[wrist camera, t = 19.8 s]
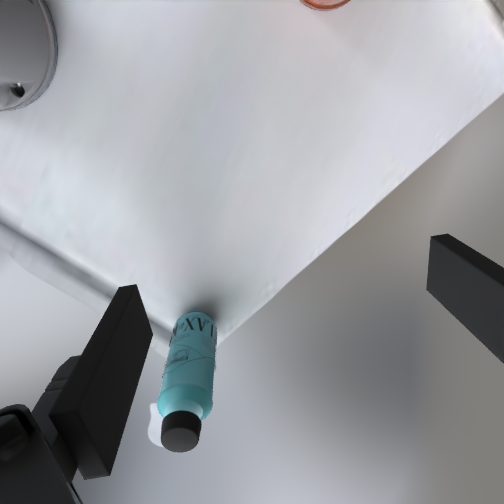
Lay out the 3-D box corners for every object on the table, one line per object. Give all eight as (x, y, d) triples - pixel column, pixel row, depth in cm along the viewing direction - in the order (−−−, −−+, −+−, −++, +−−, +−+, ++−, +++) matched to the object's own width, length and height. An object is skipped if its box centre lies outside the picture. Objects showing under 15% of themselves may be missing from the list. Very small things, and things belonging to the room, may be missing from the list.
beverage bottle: (226, 320, 53) (226, 438, 35) (198, 346, 54) (184, 471, 36) (193, 296, 51) (176, 408, 32) (165, 324, 52) (133, 445, 34)
